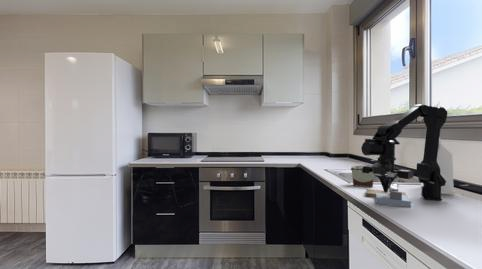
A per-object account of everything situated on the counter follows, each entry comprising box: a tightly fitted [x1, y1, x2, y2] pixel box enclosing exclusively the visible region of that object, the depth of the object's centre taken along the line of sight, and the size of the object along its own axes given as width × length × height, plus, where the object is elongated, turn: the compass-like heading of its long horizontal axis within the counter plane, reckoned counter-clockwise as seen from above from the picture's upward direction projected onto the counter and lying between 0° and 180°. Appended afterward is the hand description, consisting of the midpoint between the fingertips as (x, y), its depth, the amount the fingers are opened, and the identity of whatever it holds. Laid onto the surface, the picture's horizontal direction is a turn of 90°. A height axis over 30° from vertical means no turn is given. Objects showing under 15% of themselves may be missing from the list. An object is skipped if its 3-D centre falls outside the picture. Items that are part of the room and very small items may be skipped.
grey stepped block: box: [375, 191, 412, 208], centre depth 117 cm, size 12×10×5 cm
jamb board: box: [365, 188, 407, 198], centre depth 128 cm, size 16×9×2 cm, turn 65°
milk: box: [420, 137, 455, 195], centre depth 139 cm, size 12×12×26 cm
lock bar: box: [388, 182, 400, 192], centre depth 121 cm, size 13×4×3 cm, turn 153°
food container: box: [350, 165, 375, 188], centre depth 151 cm, size 12×6×10 cm, turn 65°
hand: (385, 192), depth 119 cm, fingers closed
